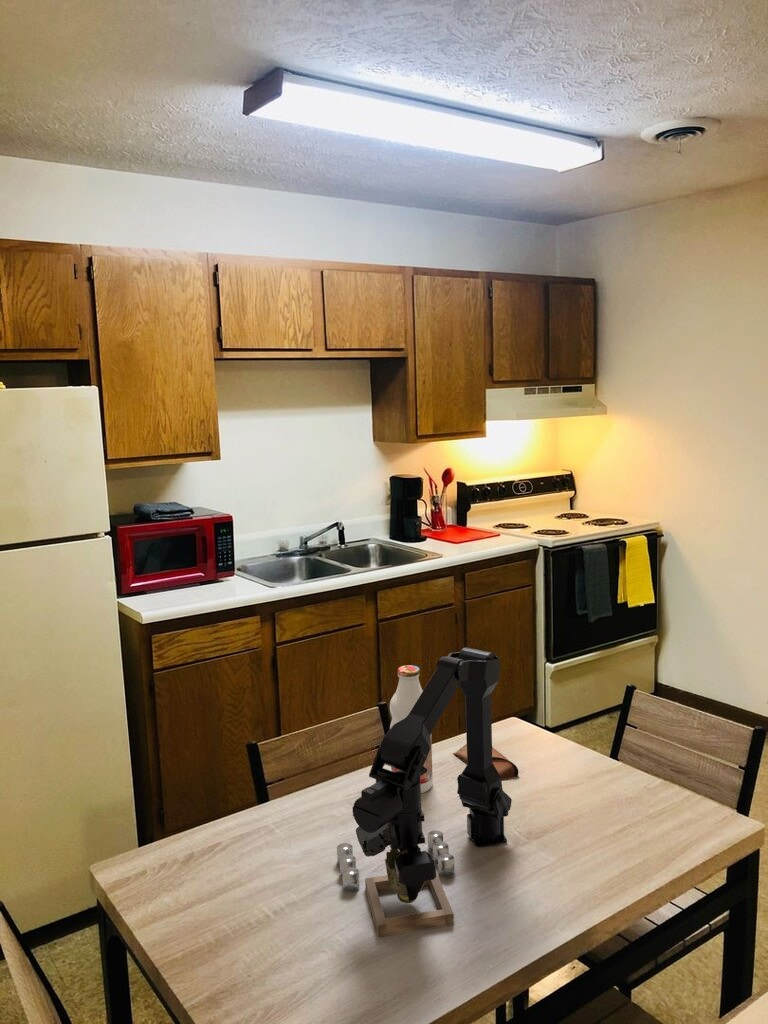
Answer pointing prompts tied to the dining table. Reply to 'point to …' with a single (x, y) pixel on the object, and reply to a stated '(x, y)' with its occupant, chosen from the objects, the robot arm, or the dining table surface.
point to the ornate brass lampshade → (392, 877)
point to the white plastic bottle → (403, 705)
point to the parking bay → (413, 920)
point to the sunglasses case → (494, 763)
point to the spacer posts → (434, 846)
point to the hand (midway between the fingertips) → (407, 887)
